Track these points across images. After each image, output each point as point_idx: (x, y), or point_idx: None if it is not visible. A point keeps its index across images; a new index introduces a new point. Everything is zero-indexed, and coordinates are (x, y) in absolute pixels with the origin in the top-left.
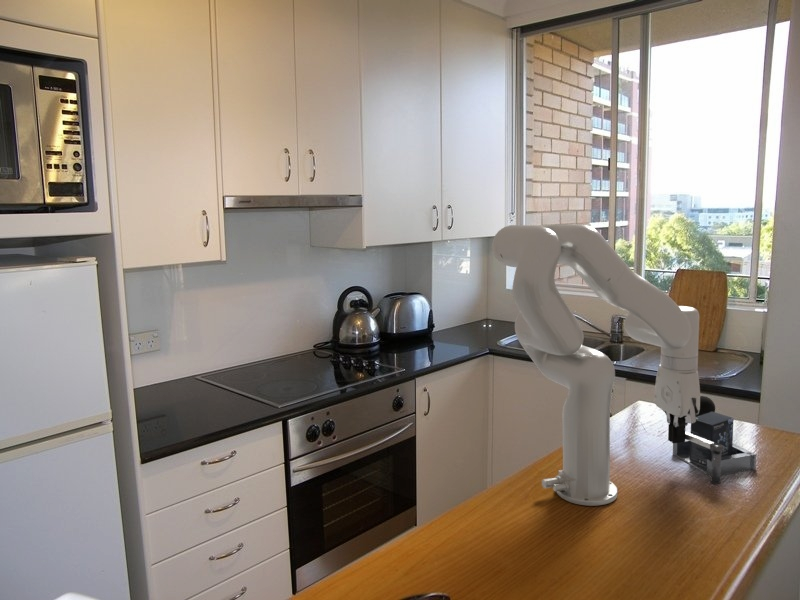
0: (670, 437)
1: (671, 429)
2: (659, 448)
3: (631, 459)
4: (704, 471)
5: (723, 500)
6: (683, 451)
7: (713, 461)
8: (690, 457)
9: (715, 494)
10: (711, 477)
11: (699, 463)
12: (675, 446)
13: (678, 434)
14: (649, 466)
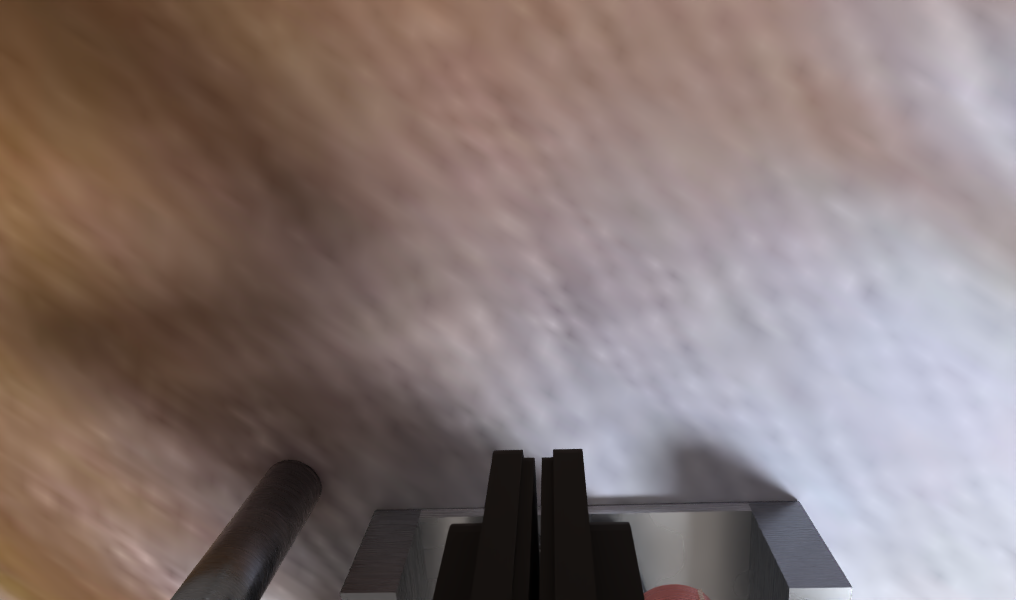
0: (547, 483)
1: (511, 567)
2: (948, 479)
3: (864, 136)
4: (441, 515)
5: (48, 374)
6: (757, 576)
7: (198, 577)
8: None
9: (132, 380)
10: (284, 482)
11: None
12: (796, 556)
13: (440, 577)
14: (670, 209)
